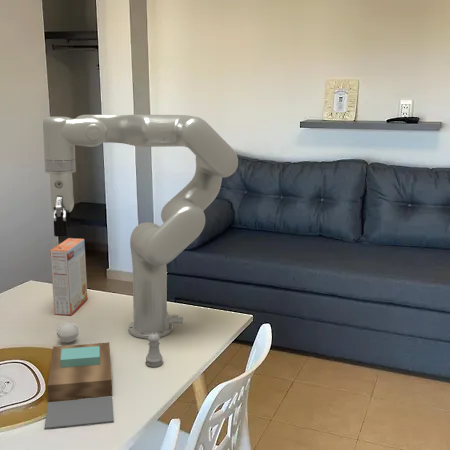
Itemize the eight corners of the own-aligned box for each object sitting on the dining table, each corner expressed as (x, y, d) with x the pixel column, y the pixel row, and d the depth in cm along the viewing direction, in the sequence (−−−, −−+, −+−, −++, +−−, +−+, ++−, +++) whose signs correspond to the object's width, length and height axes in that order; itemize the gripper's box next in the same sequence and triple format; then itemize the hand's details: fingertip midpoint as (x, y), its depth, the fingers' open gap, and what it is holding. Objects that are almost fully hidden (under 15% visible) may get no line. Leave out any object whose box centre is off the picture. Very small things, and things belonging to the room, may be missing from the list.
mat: (112, 398, 133) (112, 396, 133) (113, 422, 124) (113, 420, 124) (48, 404, 130) (47, 402, 130) (44, 429, 121) (44, 427, 121)
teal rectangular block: (99, 353, 146) (99, 346, 146) (99, 364, 140) (99, 356, 140) (62, 356, 144) (61, 348, 144) (60, 367, 138) (60, 359, 138)
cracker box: (70, 298, 193) (67, 237, 188) (88, 299, 192) (85, 238, 187) (52, 314, 180) (49, 249, 175) (71, 316, 179) (68, 250, 174)
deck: (109, 356, 153) (109, 342, 152) (112, 395, 134) (111, 379, 133) (53, 361, 150) (53, 346, 149) (48, 401, 131) (47, 385, 130)
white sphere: (59, 338, 164) (58, 319, 162) (80, 337, 164) (79, 318, 163) (54, 350, 156) (53, 330, 155) (76, 349, 157) (75, 330, 156)
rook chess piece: (155, 369, 147) (155, 339, 145) (141, 364, 149) (141, 335, 147) (166, 362, 151) (166, 333, 149) (152, 358, 153) (152, 329, 151)
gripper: (72, 171, 142) (75, 239, 146) (77, 161, 158) (79, 223, 162) (40, 171, 140) (43, 240, 144) (48, 161, 157) (51, 223, 161)
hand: (62, 231), depth 153 cm, fingers open, 9 cm apart
